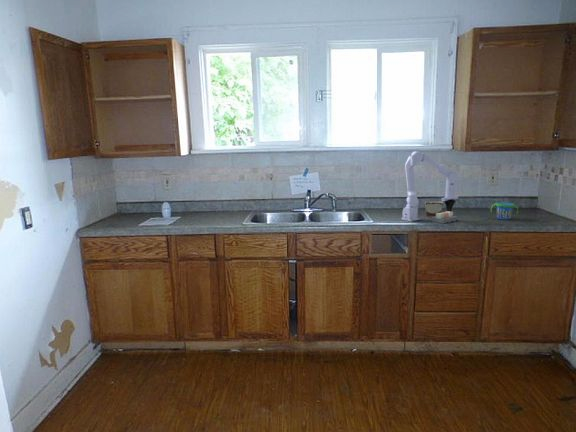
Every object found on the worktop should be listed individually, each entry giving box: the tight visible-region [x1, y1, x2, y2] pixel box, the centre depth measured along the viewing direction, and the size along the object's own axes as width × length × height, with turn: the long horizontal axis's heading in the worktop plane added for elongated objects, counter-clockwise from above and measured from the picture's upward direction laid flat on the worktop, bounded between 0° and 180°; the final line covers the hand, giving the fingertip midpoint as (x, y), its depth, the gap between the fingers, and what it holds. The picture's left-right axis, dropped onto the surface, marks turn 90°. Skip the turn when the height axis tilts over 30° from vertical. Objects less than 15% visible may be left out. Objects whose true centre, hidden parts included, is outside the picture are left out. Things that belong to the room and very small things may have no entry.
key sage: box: [436, 213, 444, 219], centre depth 244 cm, size 3×3×4 cm
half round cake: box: [424, 200, 444, 218], centre depth 263 cm, size 12×6×10 cm, turn 84°
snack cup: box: [490, 202, 519, 221], centre depth 249 cm, size 16×10×10 cm
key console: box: [430, 215, 459, 224], centre depth 247 cm, size 15×9×2 cm, turn 123°
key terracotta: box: [441, 211, 449, 218], centre depth 247 cm, size 3×3×4 cm
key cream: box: [446, 210, 454, 217], centre depth 249 cm, size 3×3×4 cm
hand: (449, 211), depth 249 cm, fingers closed
